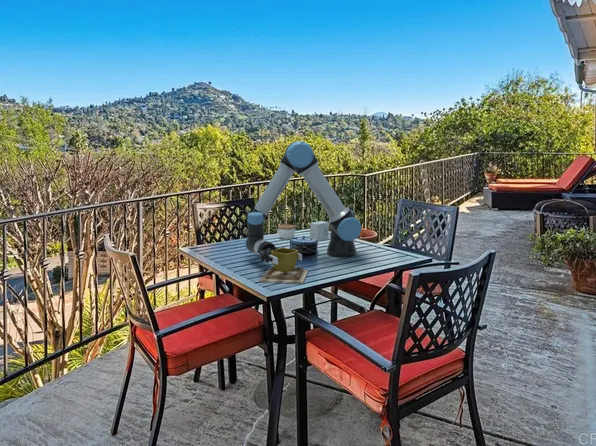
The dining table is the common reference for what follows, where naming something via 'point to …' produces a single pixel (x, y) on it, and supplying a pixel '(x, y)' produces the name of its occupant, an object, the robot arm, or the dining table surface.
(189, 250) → the dining table surface
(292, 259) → the flower pot
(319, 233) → the skincare box
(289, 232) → the lidded jar
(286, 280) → the birch tray
